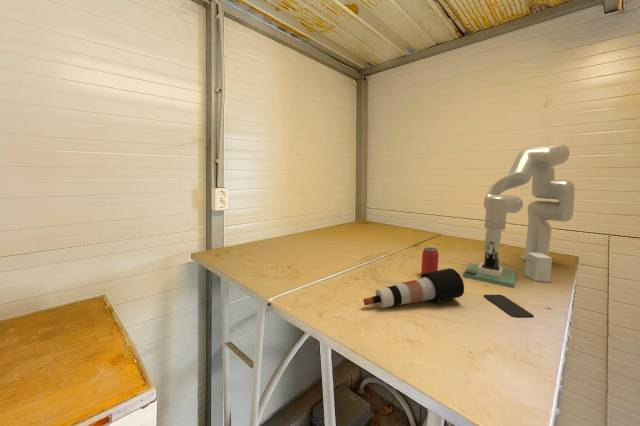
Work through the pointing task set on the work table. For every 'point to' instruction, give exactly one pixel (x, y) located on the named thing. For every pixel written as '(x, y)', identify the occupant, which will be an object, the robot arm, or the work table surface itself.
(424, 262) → the beer can
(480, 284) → the work table surface
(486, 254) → the plug
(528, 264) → the small box
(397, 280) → the work table surface
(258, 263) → the work table surface
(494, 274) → the header socket
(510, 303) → the phone
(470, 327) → the work table surface
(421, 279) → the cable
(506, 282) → the circuit board
